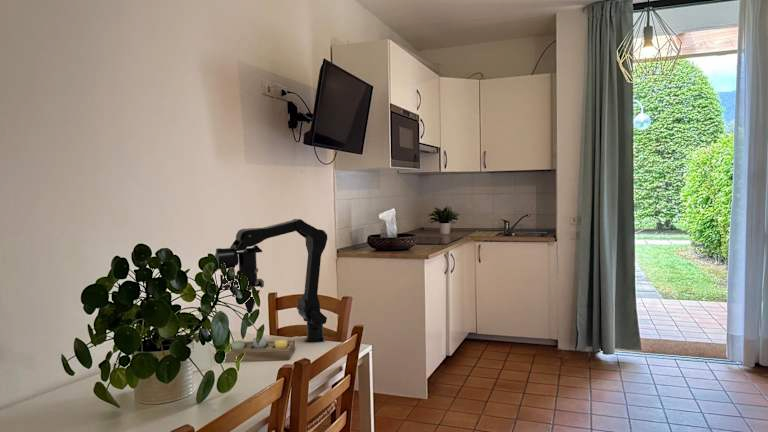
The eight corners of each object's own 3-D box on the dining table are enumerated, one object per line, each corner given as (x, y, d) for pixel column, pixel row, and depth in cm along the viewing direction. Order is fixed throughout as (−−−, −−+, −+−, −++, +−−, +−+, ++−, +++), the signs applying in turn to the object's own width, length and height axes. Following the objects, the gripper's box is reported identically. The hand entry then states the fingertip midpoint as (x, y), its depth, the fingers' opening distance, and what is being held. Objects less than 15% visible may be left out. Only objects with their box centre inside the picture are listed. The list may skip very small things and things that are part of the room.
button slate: (255, 349, 177) (254, 337, 176) (267, 348, 177) (266, 336, 176) (252, 352, 173) (251, 340, 172) (264, 352, 173) (264, 340, 172)
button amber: (276, 351, 177) (276, 339, 177) (288, 351, 177) (288, 339, 177) (274, 355, 173) (273, 342, 173) (286, 354, 173) (285, 342, 173)
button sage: (234, 352, 177) (233, 340, 176) (246, 352, 177) (245, 340, 176) (230, 356, 173) (230, 344, 172) (243, 356, 173) (242, 343, 172)
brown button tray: (232, 351, 181) (232, 342, 181) (295, 349, 181) (294, 340, 181) (222, 362, 169) (222, 353, 169) (289, 360, 169) (288, 350, 169)
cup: (215, 363, 168) (213, 312, 168) (204, 371, 160) (201, 318, 159) (190, 363, 169) (188, 312, 168) (178, 371, 161) (175, 319, 160)
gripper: (231, 263, 188) (233, 307, 188) (214, 271, 169) (217, 320, 170) (263, 262, 188) (265, 306, 188) (250, 270, 169) (252, 319, 170)
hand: (249, 313), depth 179 cm, fingers closed
